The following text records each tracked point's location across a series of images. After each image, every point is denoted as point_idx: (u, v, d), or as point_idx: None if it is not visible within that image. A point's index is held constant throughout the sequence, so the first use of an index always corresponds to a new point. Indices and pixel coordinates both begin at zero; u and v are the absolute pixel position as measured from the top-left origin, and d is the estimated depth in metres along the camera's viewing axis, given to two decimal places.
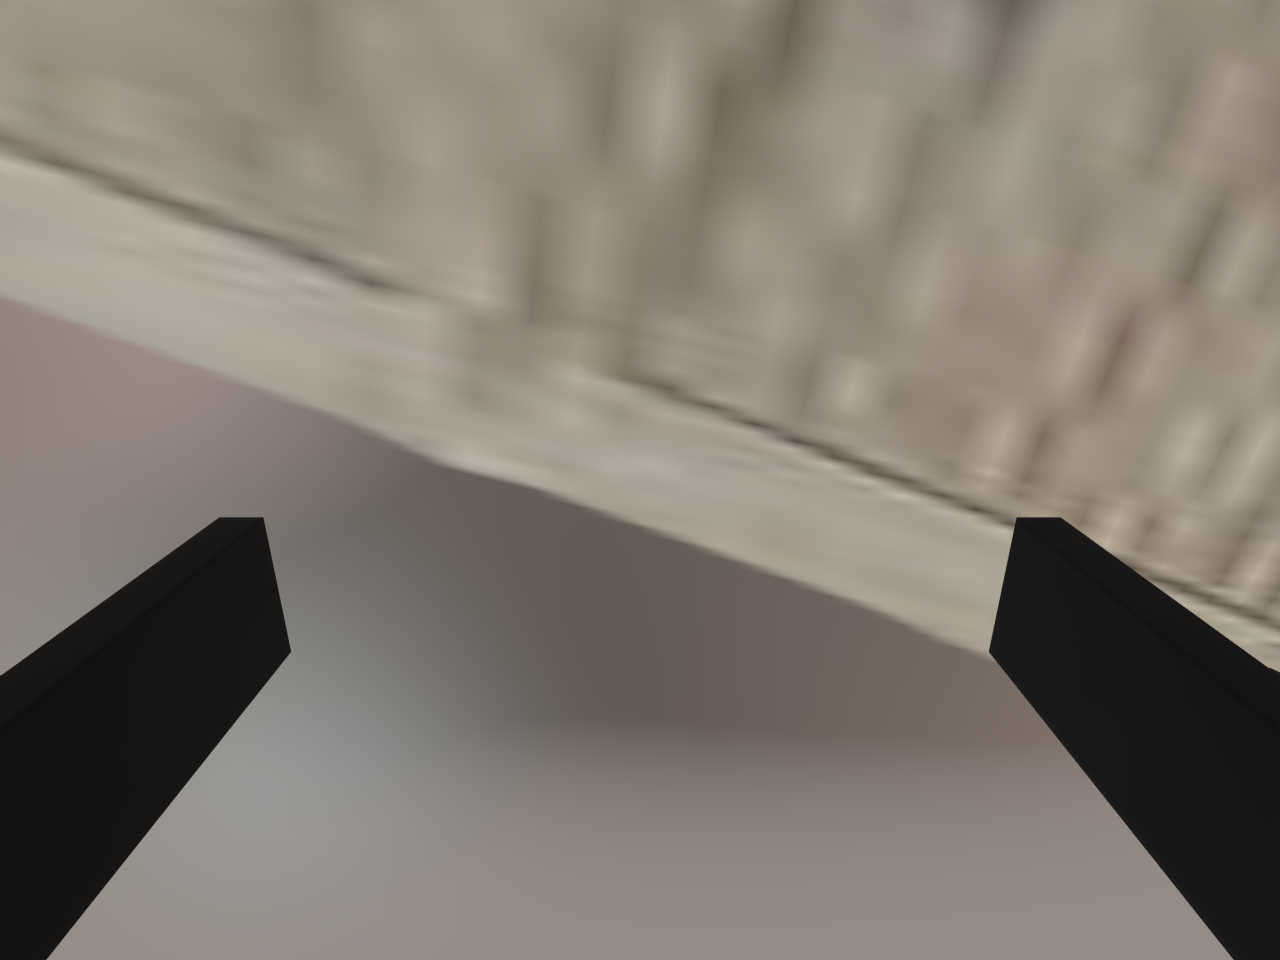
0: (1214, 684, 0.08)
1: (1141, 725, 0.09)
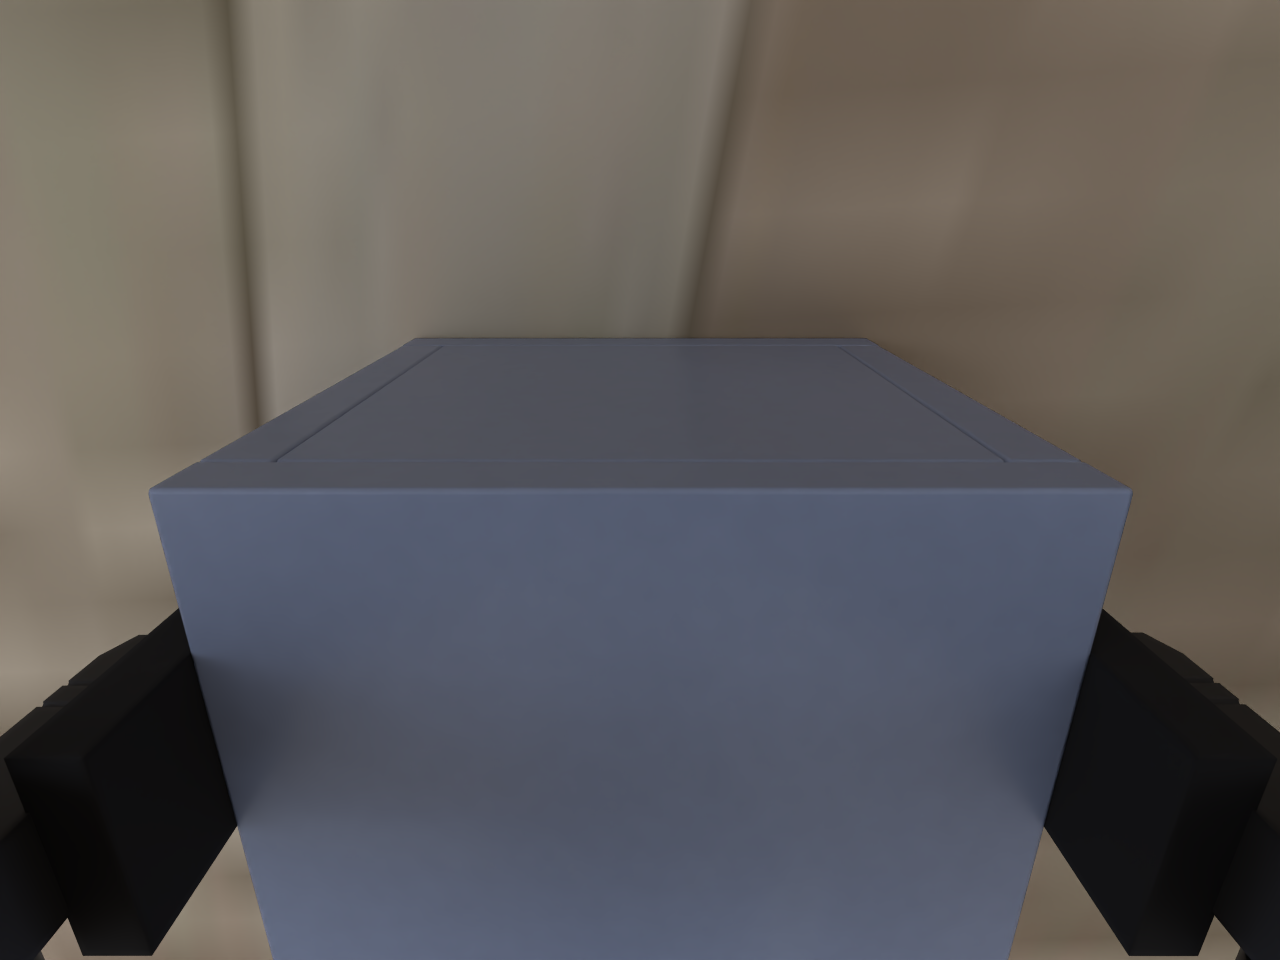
0: None
1: None
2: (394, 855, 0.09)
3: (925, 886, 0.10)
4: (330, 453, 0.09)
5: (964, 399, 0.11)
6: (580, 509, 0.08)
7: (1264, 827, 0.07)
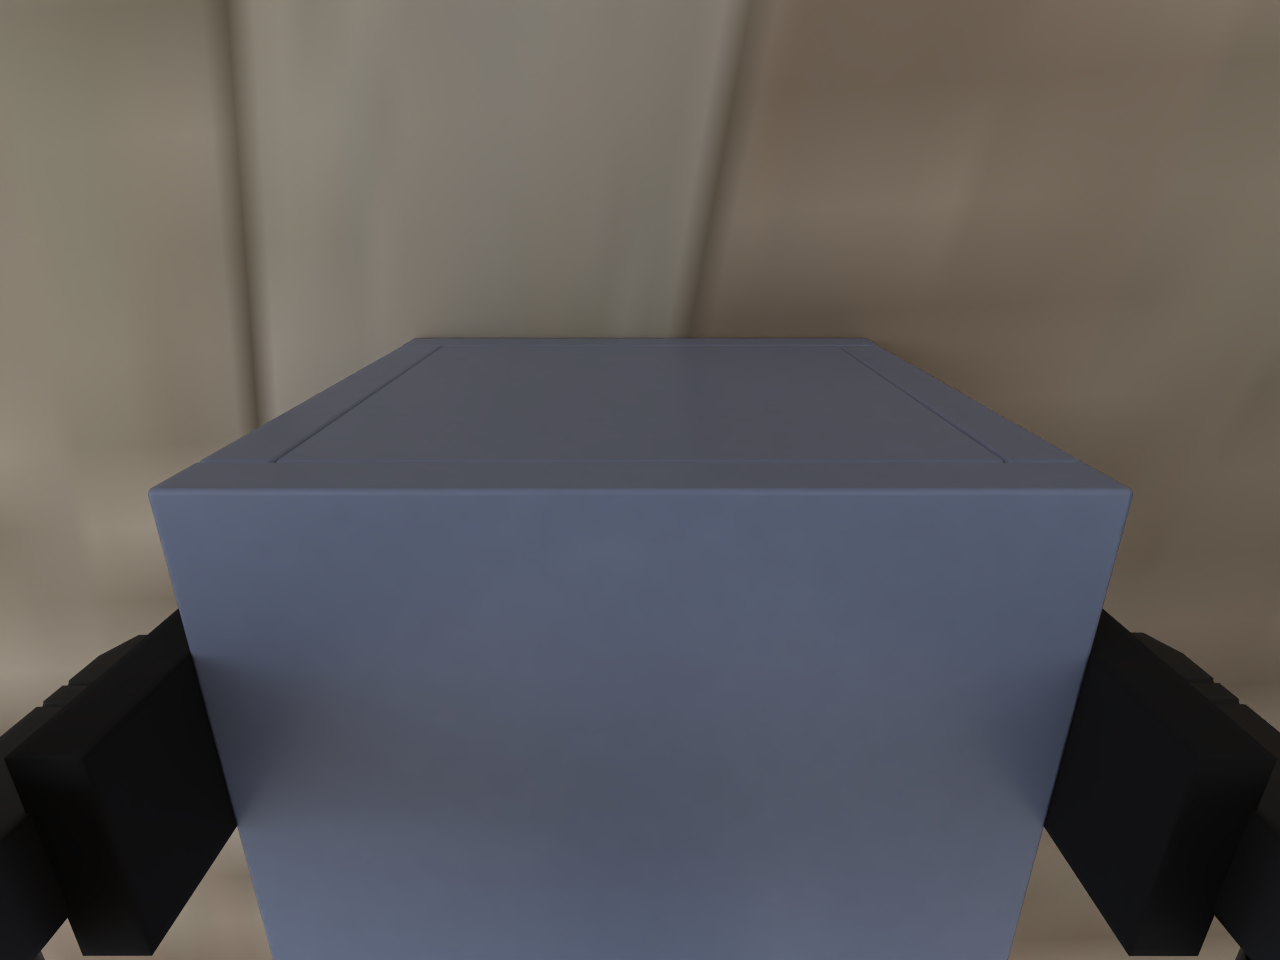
0: None
1: None
2: (394, 855, 0.09)
3: (925, 886, 0.10)
4: (330, 454, 0.09)
5: (964, 399, 0.11)
6: (579, 510, 0.08)
7: (1263, 826, 0.07)
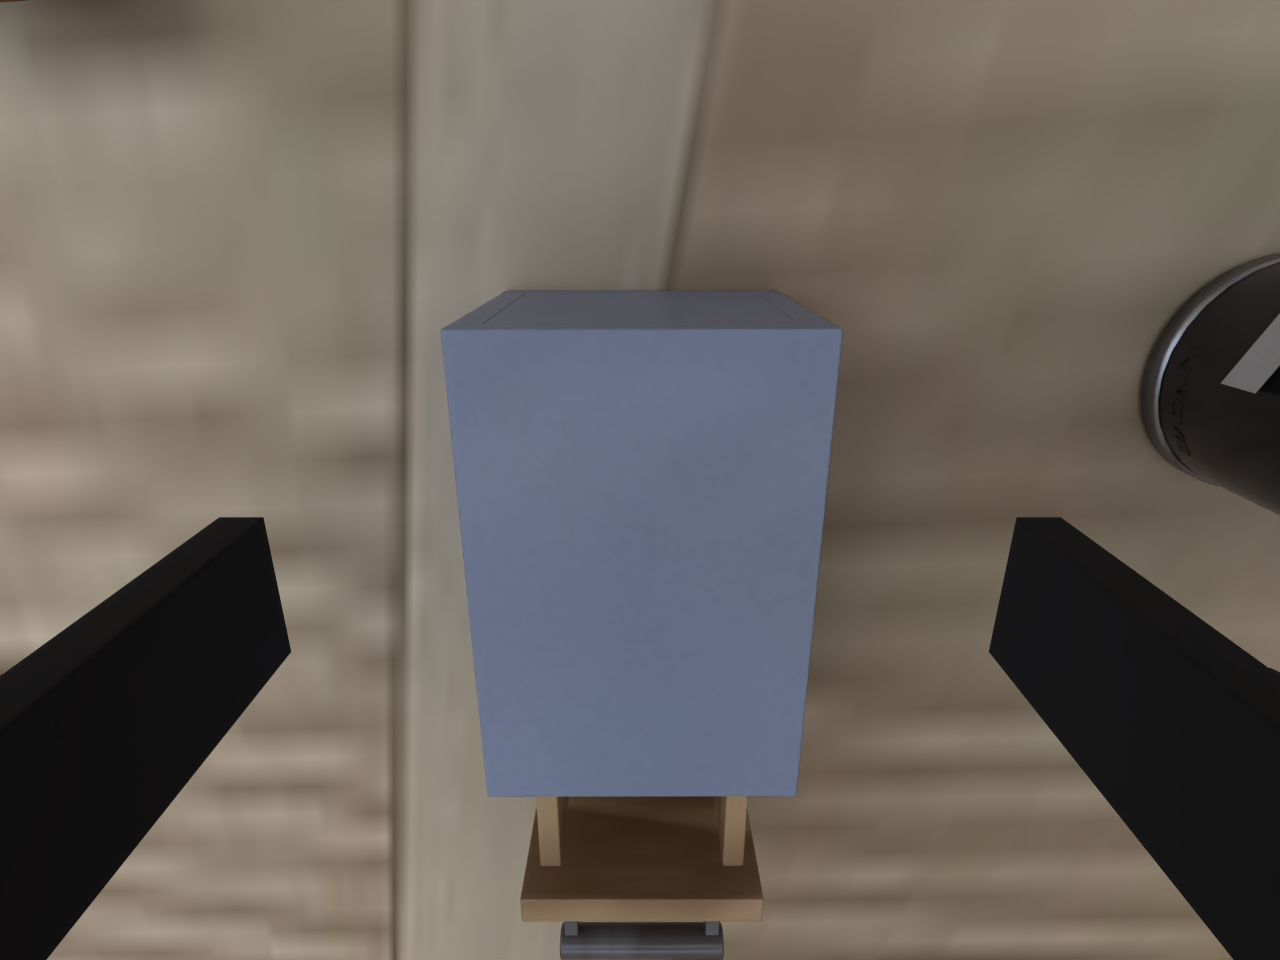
0: (1214, 684, 0.08)
1: (1141, 726, 0.09)
2: (528, 512, 0.20)
3: (775, 529, 0.21)
4: (505, 322, 0.20)
5: (804, 309, 0.22)
6: (617, 338, 0.19)
7: None
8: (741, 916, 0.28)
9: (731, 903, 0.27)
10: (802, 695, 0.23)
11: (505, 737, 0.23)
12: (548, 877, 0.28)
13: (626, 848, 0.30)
